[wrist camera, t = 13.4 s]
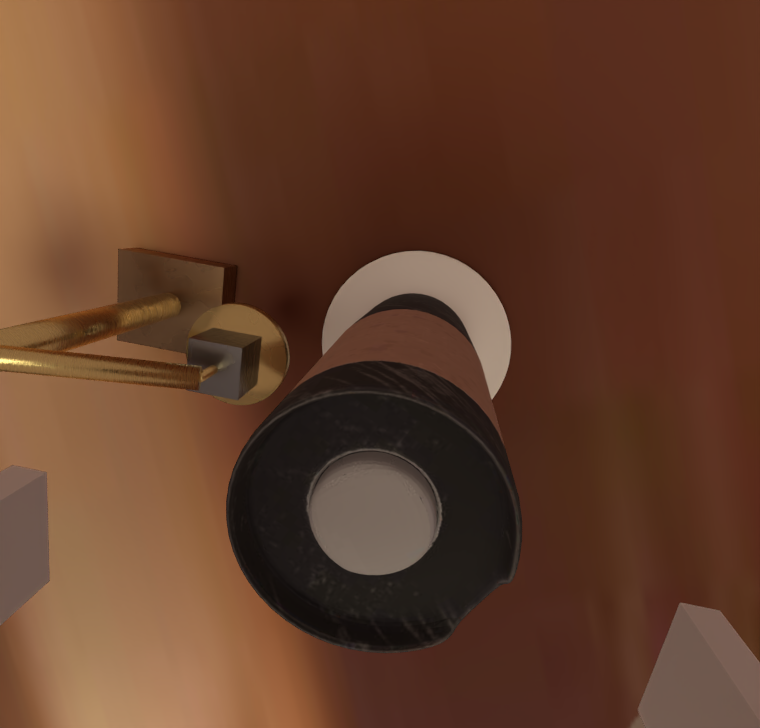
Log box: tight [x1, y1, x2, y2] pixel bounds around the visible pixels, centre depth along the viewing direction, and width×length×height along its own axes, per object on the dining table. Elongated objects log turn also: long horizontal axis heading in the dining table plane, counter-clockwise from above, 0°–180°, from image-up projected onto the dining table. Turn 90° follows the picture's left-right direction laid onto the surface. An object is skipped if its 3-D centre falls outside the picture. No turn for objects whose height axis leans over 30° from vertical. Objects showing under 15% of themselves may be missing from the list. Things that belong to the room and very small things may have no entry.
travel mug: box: [226, 293, 522, 653], centre depth 22 cm, size 8×8×20 cm
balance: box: [0, 248, 290, 405], centre depth 25 cm, size 20×6×18 cm, turn 81°
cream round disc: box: [322, 251, 511, 400], centre depth 32 cm, size 12×12×1 cm
